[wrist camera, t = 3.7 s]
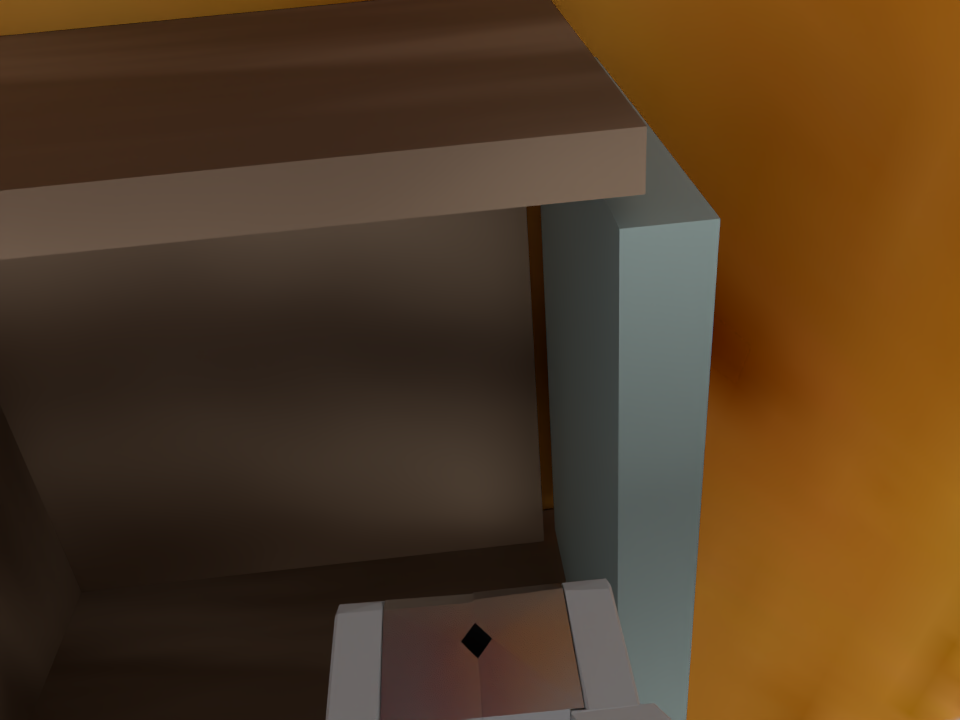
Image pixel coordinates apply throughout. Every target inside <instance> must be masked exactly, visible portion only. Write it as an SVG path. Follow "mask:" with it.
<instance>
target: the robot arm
mask: <svg viewBox="0 0 960 720" xmlns="http://www.w3.org/2000/svg"><path fill="white" fill-rule="evenodd" d="M326 720H672V719H671V718H670V717H669V716H668V715H666V714H665V713H664V712H663V711H662V710H661V709H660V708H659V707H658V706H657V705H656V704H655V703H649V704H640V700H639V696H638V692H637V688H636V684H635V680H634V676H633V672H632V668H631V664H630V660H629V656H628V652H627V648H626V644H625V640H624V636H623V632H622V628H621V624H620V620H619V616H618V612H617V608H616V604H615V600H614V596H613V592H612V588H611V585H610V583H609V582H608V581H607V579H606V578H604V579H595V580H585V581H576V582H566V583H562V585H561V584H560V583H553V584H544V585H535V586H526V587H517V588H508V589H500V590H491V591H482V592H473V594H462V595H449V596H436V597H422V598H409V599H395V600H385V601H377V602H365V603H352V604H340V605H339V607H338V610H337V613H336V616H335V621H334V632H333V643H332V654H331V665H330V676H329V687H328V698H327V709H326Z"/></svg>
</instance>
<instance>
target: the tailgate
mask: <svg viewBox="0 0 960 720" xmlns="http://www.w3.org/2000/svg"><path fill="white" fill-rule="evenodd" d="M594 58H595V59H596V60H597V62H598V63H599V64H600V65H601V67H602V68H603V69H604V71H605V72H606V73H607V75H608V76H609V77H610V79H611V80H612V81H613V82H614V84H615V85H616V86H617V88H618V89H619V90H620V92H621V93H622V94H623V96H624V97H625V98H626V100H627V101H628V102H629V103H630V105H631V106H632V107H633V109H634V110H635V111H636V113H637V114H638V115H639V117H640V118H641V119H642V121H643V122H644V123H645V124H646V126H647V145H646V193H645V194H644V195H634V196H625V197H615V198H605V199H595V200H585V201H575V202H565V203H555V204H546V205H541V228H542V250H543V273H544V295H545V318H546V340H547V363H548V386H549V408H550V431H551V453H552V476H553V498H554V521H555V532H556V536H557V541H558V546H559V551H560V555H561V560H562V565H563V569H564V574H565V579H566V582H576V581H585V580H595V579H604V578H606V579H607V581H608V582H609V583H610V585H611V588H612V592H613V596H614V600H615V604H616V608H617V612H618V616H619V620H620V624H621V628H622V632H623V636H624V640H625V644H626V648H627V652H628V656H629V660H630V664H631V668H632V672H633V676H634V680H635V684H636V688H637V692H638V696H639V700H640V704H649V703H655V704H656V705H657V706H658V707H659V708H660V709H661V710H662V711H663V712H664V713H665V714H666V715H668V716H669V717H670V718H671V719H672V720H686V715H687V700H688V685H689V671H690V656H691V641H692V627H693V612H694V597H695V583H696V568H697V553H698V539H699V524H700V509H701V495H702V480H703V465H704V451H705V436H706V421H707V407H708V392H709V377H710V363H711V348H712V333H713V319H714V304H715V289H716V275H717V260H718V245H719V230H720V218H719V216H718V215H717V214H716V212H715V211H714V210H713V209H712V207H711V206H710V205H709V203H708V202H707V201H706V199H705V198H704V197H703V196H702V194H701V193H700V192H699V190H698V189H697V188H696V186H695V185H694V184H693V183H692V181H691V180H690V179H689V177H688V176H687V175H686V173H685V172H684V171H683V170H682V168H681V167H680V166H679V164H678V163H677V162H676V160H675V159H674V158H673V157H672V155H671V154H670V153H669V151H668V150H667V149H666V147H665V146H664V145H663V144H662V142H661V141H660V140H659V138H658V137H657V136H656V134H655V133H654V132H653V131H652V129H651V128H650V127H649V125H648V124H647V123H646V121H645V120H644V119H643V118H642V116H641V115H640V114H639V112H638V111H637V110H636V108H635V107H634V106H633V105H632V103H631V102H630V101H629V99H628V98H627V97H626V95H625V94H624V93H623V92H622V90H621V89H620V88H619V86H618V85H617V84H616V82H615V81H614V80H613V79H612V77H611V76H610V75H609V73H608V72H607V71H606V69H605V68H604V67H603V66H602V64H601V63H600V62H599V60H598V59H597V58H596V57H594Z"/></svg>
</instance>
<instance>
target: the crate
mask: <svg viewBox="0 0 960 720" xmlns="http://www.w3.org/2000/svg"><path fill="white" fill-rule="evenodd" d="M646 145H647V126H646V124H645V123H644V122H643V121H642V119H641V118H640V117H639V115H638V114H637V113H636V111H635V110H634V109H633V107H632V106H631V105H630V103H629V102H628V101H627V100H626V98H625V97H624V96H623V94H622V93H621V92H620V90H619V89H618V88H617V86H616V85H615V84H614V82H613V81H612V80H611V79H610V77H609V76H608V75H607V73H606V72H605V71H604V69H603V68H602V67H601V65H600V64H599V63H598V62H597V60H596V59H595V58H594V56H593V55H592V54H591V52H590V51H589V50H588V48H587V47H586V46H585V44H584V43H583V42H582V41H581V39H580V38H579V37H578V35H577V34H576V33H575V31H574V30H573V29H572V27H571V26H570V25H569V23H568V22H567V21H566V20H565V18H564V17H563V16H562V14H561V13H560V12H559V10H558V9H557V8H556V6H555V5H554V4H553V2H552V1H551V0H373V1H363V2H352V3H342V4H331V5H321V6H310V7H300V8H290V9H279V10H269V11H258V12H248V13H237V14H227V15H216V16H206V17H196V18H185V19H175V20H164V21H154V22H143V23H133V24H122V25H112V26H101V27H91V28H81V29H70V30H60V31H49V32H39V33H28V34H18V35H7V36H0V720H326V709H327V698H328V687H329V676H330V665H331V654H332V643H333V632H334V621H335V616H336V613H337V610H338V607H339V605H340V604H352V603H365V602H377V601H385V600H395V599H409V598H422V597H436V596H449V595H462V594H473V592H482V591H491V590H500V589H508V588H517V587H526V586H535V585H544V584H553V583H560V584H561V585H562V583H566V579H565V574H564V569H563V565H562V560H561V555H560V551H559V546H558V541H557V536H556V532H555V521H554V509H553V510H543V511H542V492H541V473H540V455H539V436H538V417H537V398H536V379H535V361H534V342H533V323H532V304H531V285H530V267H529V248H528V229H527V210H526V206H536V205H546V204H555V203H565V202H575V201H585V200H595V199H605V198H615V197H625V196H634V195H644V194H645V193H646Z"/></svg>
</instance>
